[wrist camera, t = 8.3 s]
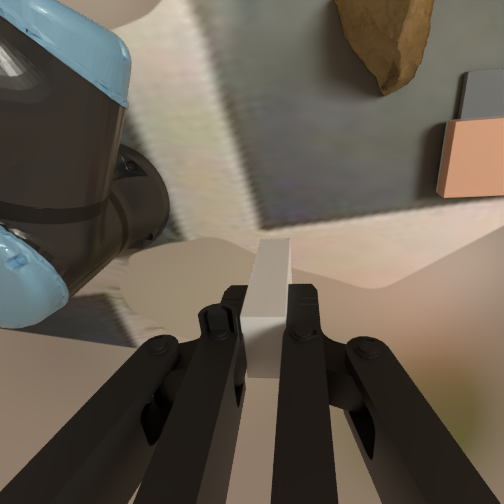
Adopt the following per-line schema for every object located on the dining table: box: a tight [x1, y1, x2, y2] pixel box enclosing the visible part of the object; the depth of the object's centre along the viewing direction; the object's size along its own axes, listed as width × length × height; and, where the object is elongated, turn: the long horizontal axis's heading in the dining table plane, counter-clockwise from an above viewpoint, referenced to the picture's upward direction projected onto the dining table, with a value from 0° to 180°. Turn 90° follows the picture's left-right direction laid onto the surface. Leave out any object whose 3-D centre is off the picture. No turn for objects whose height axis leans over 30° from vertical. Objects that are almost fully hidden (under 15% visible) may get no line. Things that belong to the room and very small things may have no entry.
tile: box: [436, 116, 504, 198], centre depth 35 cm, size 2×8×10 cm
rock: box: [333, 0, 434, 96], centre depth 32 cm, size 11×9×10 cm
